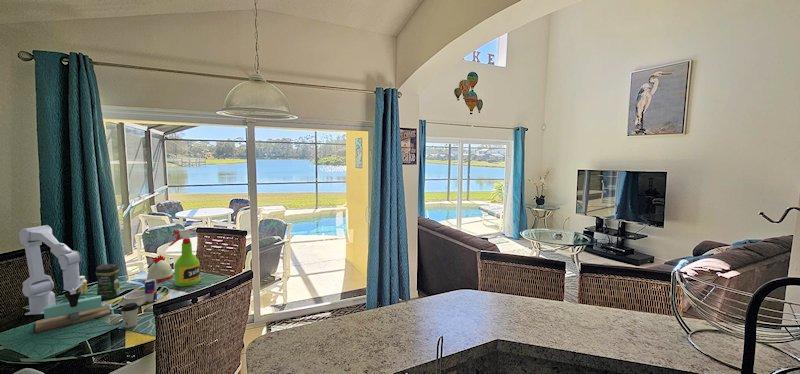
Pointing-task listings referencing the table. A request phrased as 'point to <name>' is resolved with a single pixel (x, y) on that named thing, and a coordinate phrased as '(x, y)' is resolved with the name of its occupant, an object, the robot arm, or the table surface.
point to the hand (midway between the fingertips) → (73, 304)
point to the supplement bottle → (84, 287)
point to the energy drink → (150, 290)
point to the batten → (67, 309)
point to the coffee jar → (108, 280)
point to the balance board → (67, 319)
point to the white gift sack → (160, 270)
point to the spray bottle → (186, 261)
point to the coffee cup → (130, 314)
